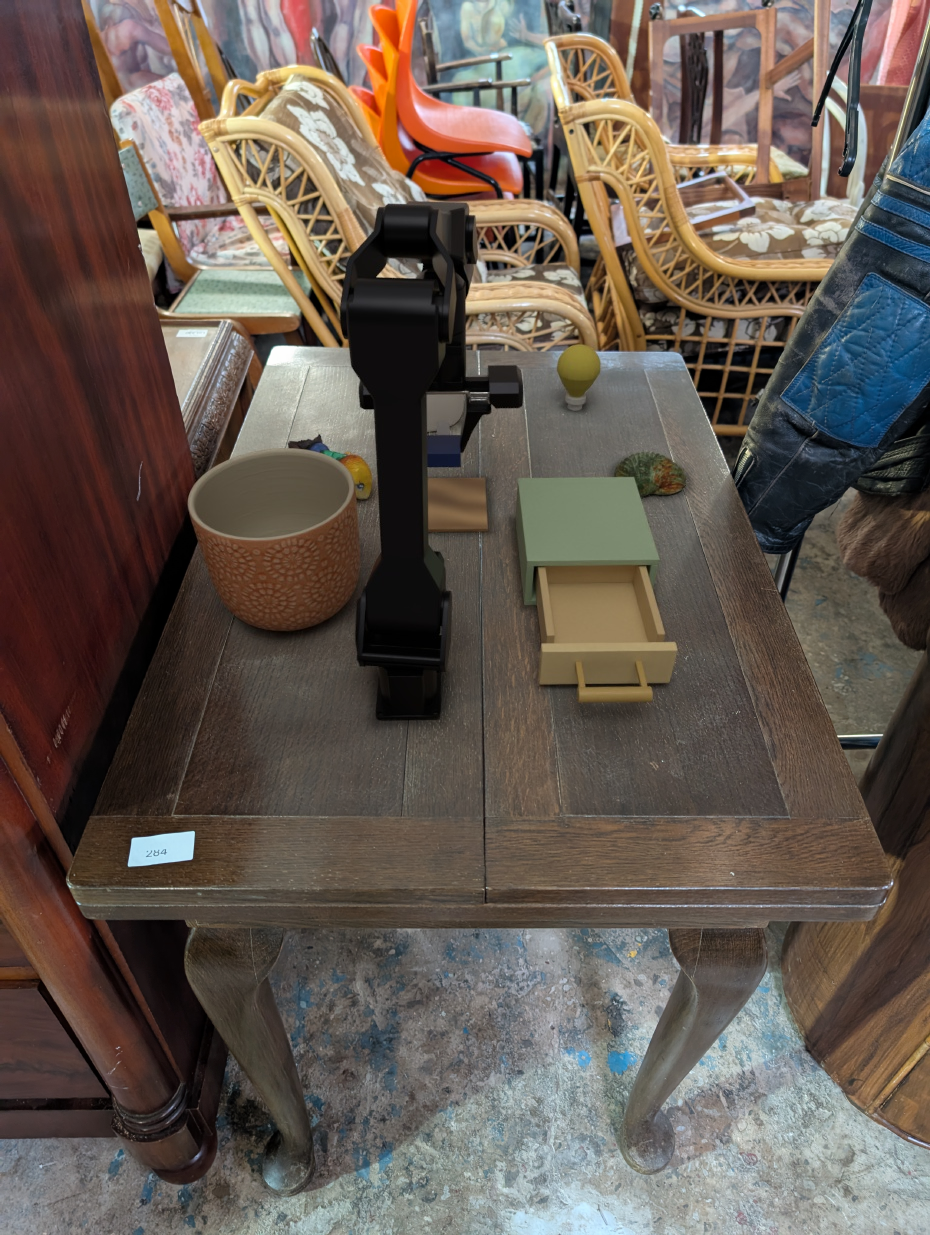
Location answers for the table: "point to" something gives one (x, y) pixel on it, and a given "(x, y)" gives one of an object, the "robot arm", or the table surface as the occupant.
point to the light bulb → (578, 373)
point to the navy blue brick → (443, 448)
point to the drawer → (601, 631)
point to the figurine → (351, 462)
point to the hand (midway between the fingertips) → (443, 451)
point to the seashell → (652, 473)
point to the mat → (457, 505)
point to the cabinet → (581, 526)
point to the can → (443, 408)
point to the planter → (279, 536)
